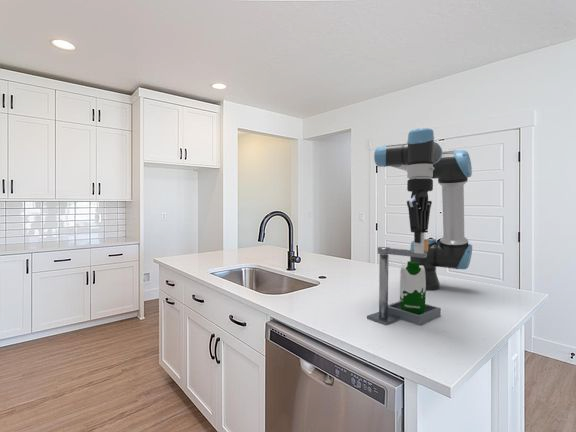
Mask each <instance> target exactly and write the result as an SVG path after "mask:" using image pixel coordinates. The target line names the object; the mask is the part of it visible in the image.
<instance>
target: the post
mask: <svg viewBox="0 0 576 432" xmlns="http://www.w3.org/2000/svg"><path fill="white" fill-rule="evenodd" d="M389 255H390V254H379V269H378V270H379V271H378V272H379V277H378V278H379V280H378V282H379V284H378V288H379V289H378V292H379V293H378V294H379V295H378V297H379V298H378V311H377V312H374V313H371V314H369V315H367V316H366V319H367V320H370V321H373V322H376V323H378V324H381V325H384V326H388V325H390V324H393V323H396V322H398V321H400V320H401V319H400V317H398V316H395V315H391V314H388V305H389Z"/></svg>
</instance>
